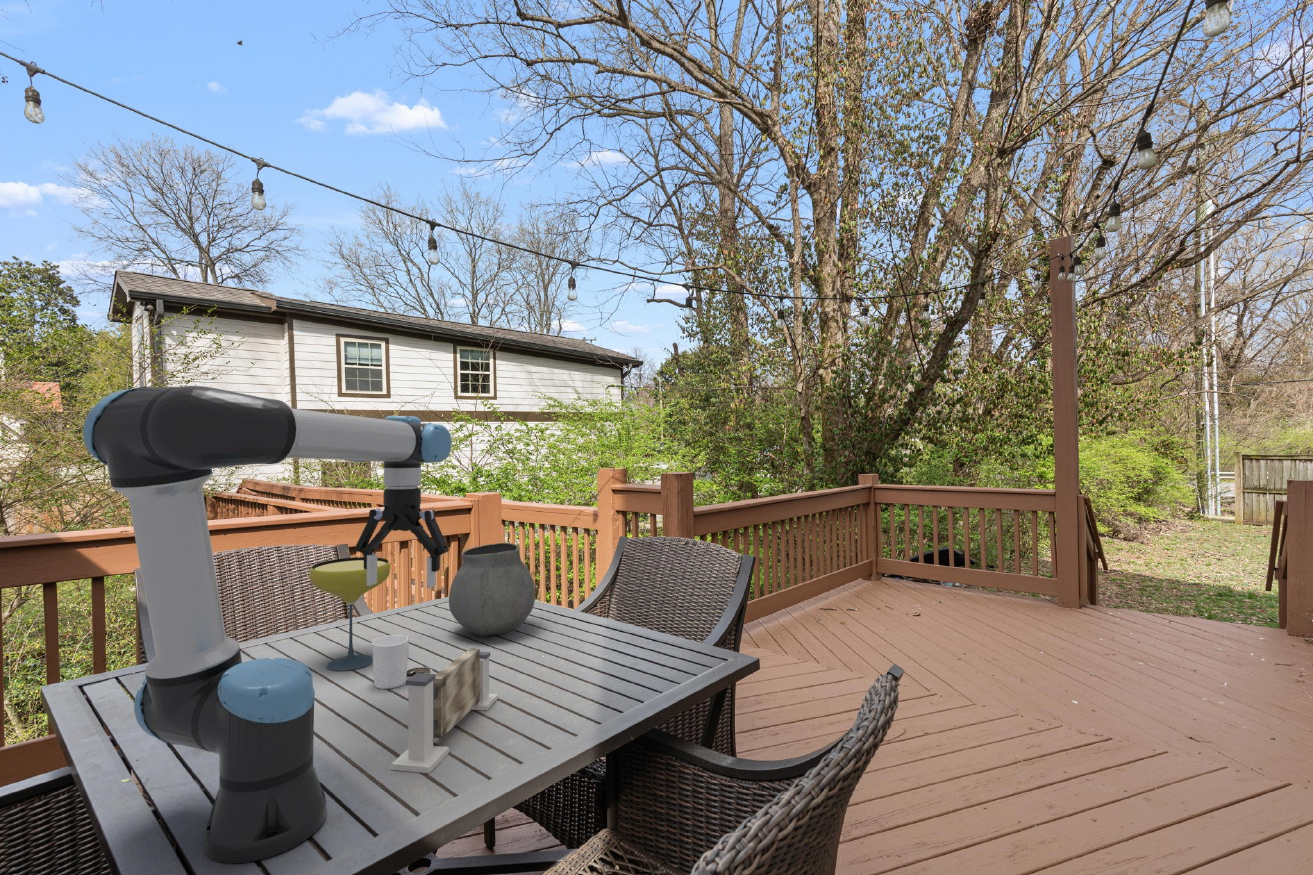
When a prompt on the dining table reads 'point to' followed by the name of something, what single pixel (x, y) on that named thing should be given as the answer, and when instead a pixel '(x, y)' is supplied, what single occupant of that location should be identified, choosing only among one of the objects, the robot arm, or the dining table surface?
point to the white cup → (390, 661)
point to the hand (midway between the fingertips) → (401, 585)
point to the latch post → (485, 684)
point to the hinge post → (420, 728)
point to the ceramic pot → (492, 590)
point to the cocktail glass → (347, 596)
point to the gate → (455, 691)
